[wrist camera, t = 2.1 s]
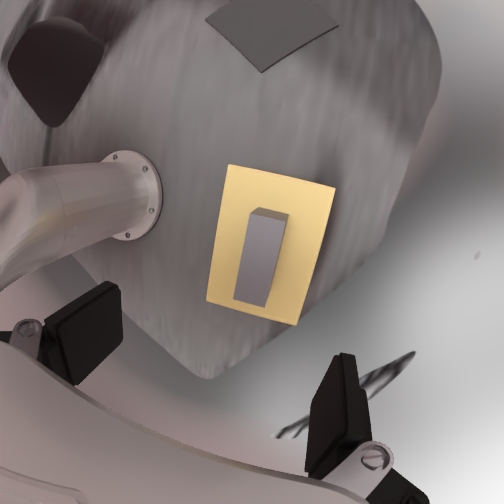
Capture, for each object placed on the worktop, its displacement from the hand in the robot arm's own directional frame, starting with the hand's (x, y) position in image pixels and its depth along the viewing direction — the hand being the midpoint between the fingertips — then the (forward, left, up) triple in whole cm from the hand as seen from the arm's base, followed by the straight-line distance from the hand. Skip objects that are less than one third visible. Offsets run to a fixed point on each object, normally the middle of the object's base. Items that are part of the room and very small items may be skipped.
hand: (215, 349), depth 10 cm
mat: (+16, +22, -23) cm, 36 cm away
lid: (0, 0, -15) cm, 15 cm away
